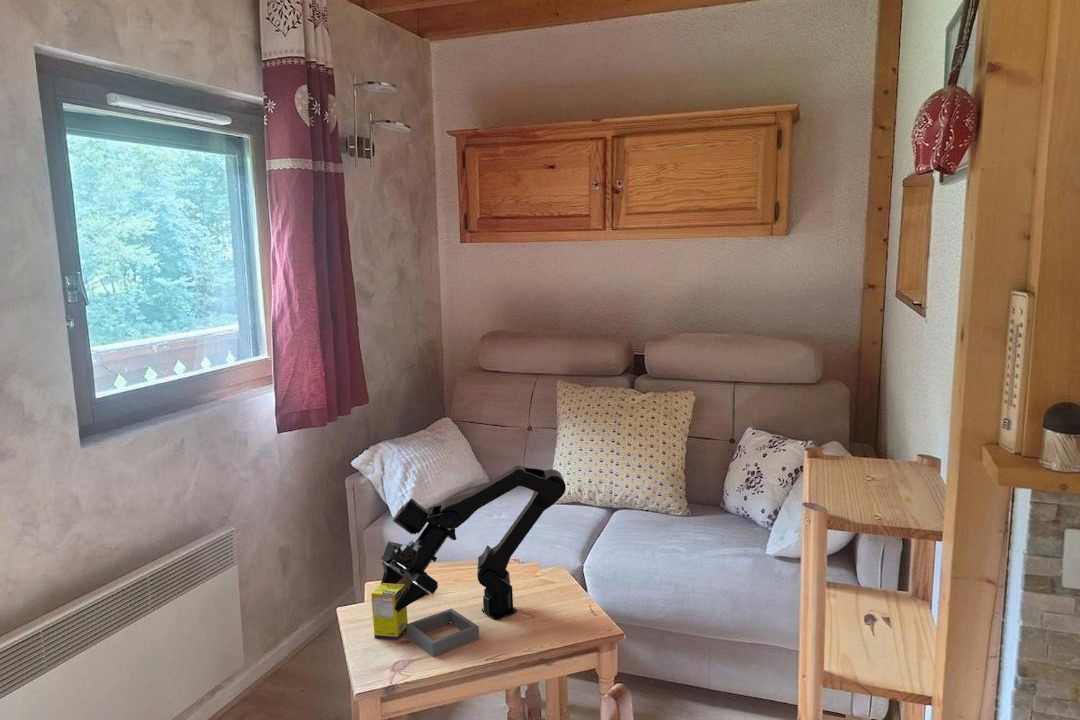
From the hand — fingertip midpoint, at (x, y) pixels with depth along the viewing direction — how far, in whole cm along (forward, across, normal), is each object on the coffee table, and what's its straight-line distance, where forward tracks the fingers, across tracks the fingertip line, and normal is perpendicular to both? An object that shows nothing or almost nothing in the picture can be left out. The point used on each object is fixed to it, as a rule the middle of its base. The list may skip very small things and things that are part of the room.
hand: (387, 603), depth 172 cm
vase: (-4, -18, +15) cm, 24 cm away
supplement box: (+5, 0, +6) cm, 8 cm away
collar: (-1, +10, +11) cm, 15 cm away
